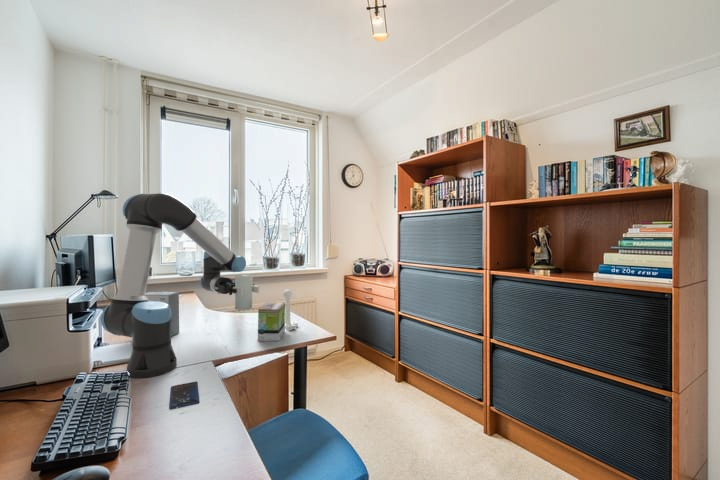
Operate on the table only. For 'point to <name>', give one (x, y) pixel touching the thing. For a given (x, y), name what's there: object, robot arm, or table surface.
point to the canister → (246, 299)
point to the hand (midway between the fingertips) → (250, 290)
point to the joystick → (288, 311)
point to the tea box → (271, 321)
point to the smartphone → (184, 395)
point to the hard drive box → (172, 301)
